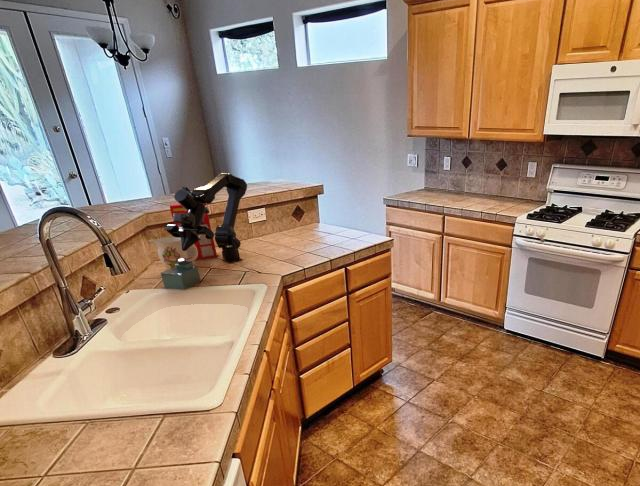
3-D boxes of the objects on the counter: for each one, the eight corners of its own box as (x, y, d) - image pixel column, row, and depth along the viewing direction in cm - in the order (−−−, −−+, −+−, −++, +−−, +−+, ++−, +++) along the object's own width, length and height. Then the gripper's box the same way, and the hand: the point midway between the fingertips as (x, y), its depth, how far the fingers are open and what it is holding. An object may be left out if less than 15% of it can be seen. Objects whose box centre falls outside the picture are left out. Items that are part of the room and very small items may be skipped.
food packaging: (216, 254, 210) (204, 201, 198) (217, 256, 206) (205, 202, 194) (183, 258, 204) (169, 204, 193) (183, 261, 200) (169, 206, 189)
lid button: (183, 262, 172) (182, 258, 171) (190, 262, 171) (189, 258, 171) (177, 265, 169) (175, 260, 168) (184, 265, 168) (183, 261, 168)
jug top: (184, 278, 178) (179, 259, 174) (203, 280, 176) (198, 261, 172) (164, 288, 168) (159, 268, 164) (184, 289, 166) (179, 270, 162)
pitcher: (201, 269, 188) (193, 238, 181) (155, 275, 182) (146, 243, 175) (201, 263, 197) (194, 233, 190) (158, 268, 191) (149, 237, 184)
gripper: (162, 203, 168) (148, 238, 164) (202, 205, 164) (190, 240, 160) (180, 220, 179) (168, 253, 174) (219, 221, 175) (208, 255, 170)
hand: (183, 250), depth 169 cm, fingers closed
